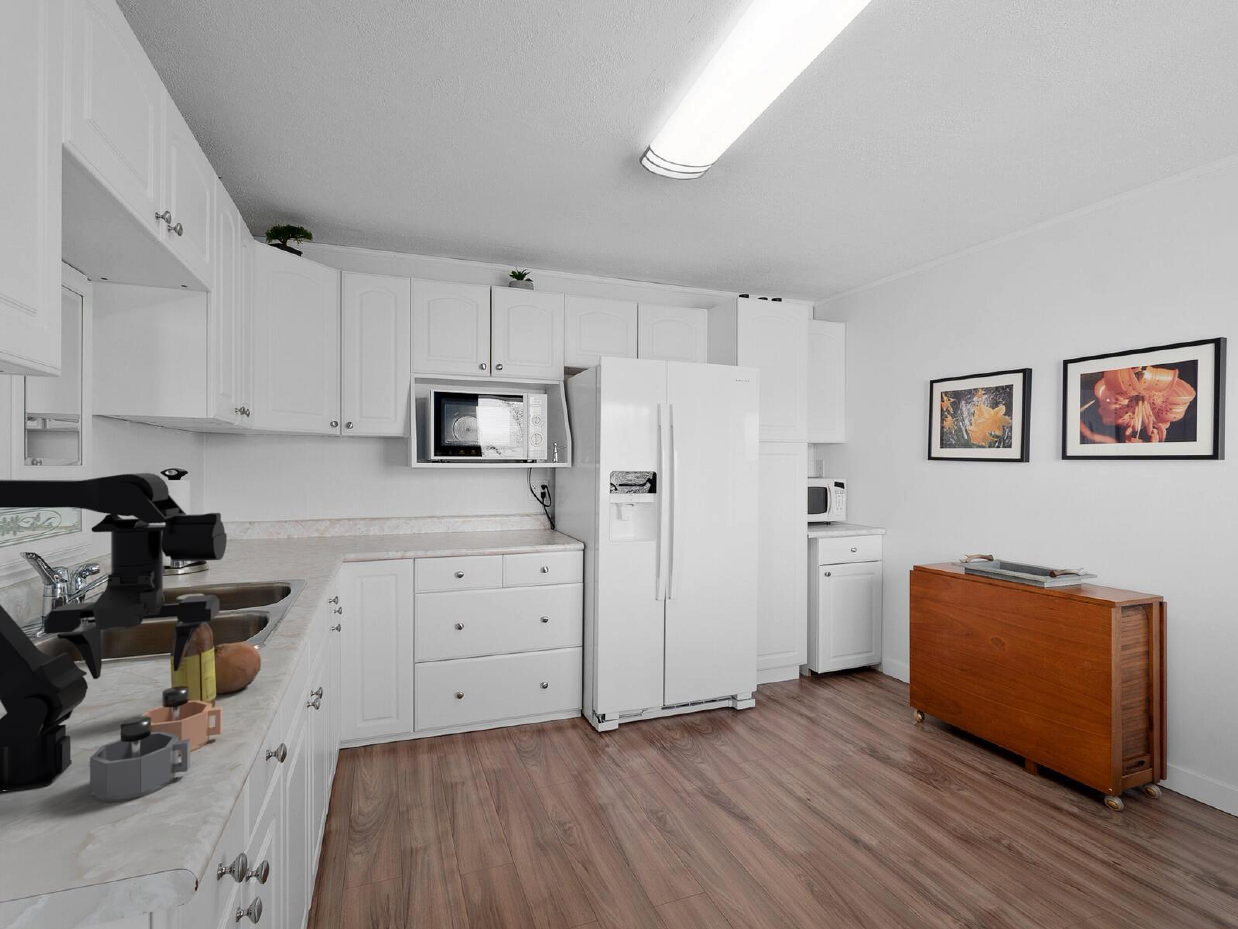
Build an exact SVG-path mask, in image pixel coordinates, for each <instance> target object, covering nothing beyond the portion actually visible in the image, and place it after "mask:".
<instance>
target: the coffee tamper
mask: <svg viewBox="0 0 1238 929" xmlns="http://www.w3.org/2000/svg"><path fill="white" fill-rule="evenodd" d="M150 735H151V718H150V717H141V716H138V717H132V718H128V719H126V720H124V721H122V722H121V723H120V739H121V741H122V742H132V758H137V757H140V740H141V739H144V738H146V737H148V736H150Z"/></svg>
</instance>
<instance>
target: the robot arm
mask: <svg viewBox="0 0 1238 929" xmlns="http://www.w3.org/2000/svg"><path fill="white" fill-rule="evenodd" d="M169 491H170V490H169V486H168V485H167V483H166V481H165V480H164V479H163V478H161V477H160V476H159V475H157V474H155V473H150V472H141V473H123V474H117V475H108V476H102V477H101V476H100V477H95V478H90V479H89V478H88V479H84V480H72V479H68V480H67V479H66V480H65V479H61V480H60V479H42V480H41V479H0V508H2V509H3V508H5V509H6V508H10V509H11V508H12V509H13V508H15V509H17V508H18V509H19V508H24V509H25V508H26V509H27V508H28V509H29V508H33V509H34V508H39V509H40V508H42V509H43V508H45V509H46V508H53V509H54V508H75V509H82V510H87V511H92V512H96V513H100V514H106V515H105V516H104V518H102V520H101V521H99V522H98V523H97V524H96V525H94V526H92V527H91V532H92V533H110V539H111V540H110V547H111V548H110V564H111V565H110V568H111V570H110V571H111V572H110V573H109V574H108V575H107V576H108V578H107V579H106V581H107V582H106V583H107V585H106V586H105V590H104V592H102V593H101V594H100V596H99V597H98V598H97V600H96V601H94V602H93V601H91V602H76V603H75V602H73V603H65V604H63V605H61V606H59V607H57V608H55V609H52V610H51V611H49V612H48V613H47V614H46V615H45V617H44V619H43V633H44V634H47V635H48V634H56V637H57V638H58V639H65V640H68V641H69V642H70V643H72V644H73V645H74V646H75V647H76V649H77V650H78V652H79V653H80V654H81V657H82V659H83V660H84V662H85V665H86V667H87V669H88V671H89V673H90V674H91V676H92V679H93V680H98V679H99V678H100V677H101V674H102V673H101V672H102V666H103V665H102V663H103V660H102V658H103V656H102V631H106V630H109V629H113V628H114V629H115V628H125V629H131V628H136V627H138V626H140V625H141V624H142V622H143V621H144V620H147V619H148V620H150V619H159V618H160V619H161V618H173V617H174V618H175V617H176V618H177V620H178V619H179V620H180V621H181V622H180V623H179V624H178V625H177V624H176V625H175V626H174V631H175V632H176V642H175V651H174V660H173V664H174V671H178V670H179V668H180V666H181V663H182V661H183V658H184V656H185V653H186V651H187V648H188V646H189V643H190V641H191V639H192V637H193V635H194V633H195V631H196V629H197V628H199V627H201V626H202V625H203V624H204V623H205V622H210V621H212V620H213V619H214V618H215V617H216V616H217V615H219V613H220V599H219V598H218V596H216V595H215V594H206V595H205V594H204V595H202V596H188V597H186V598H185V599H184V600H182V601H181V602H180V603H176V602H175V603H164V602H165V598H166V597H165V596H166V595H165V593H164V592H163V591H164V590H163V589H164V588H163V586H164V583H163V581H164V578H163V577H164V574H165V573H166V572H165V565H164V563H163V562H164V559H163V558H164V557H163V556H165V557H167V558H168V557H170V560H172V561H173V562H176V563H177V562H198V561H199V562H202V561H205V562H207V561H221V560H222V559H223V557H224V556H225V552H226V548H227V539H228V538H227V536H228V534H227V533H226V532H225V525H224V523H223V522H222V514H221V513H220V512H209V513H208V512H207V513H204V514H203V513H202V514H197V513H196V514H187V513H186V512H185V510H183V508H181V507H180V505H179V504H178V503H177V502H176V501H175V500H174V498H172V496H171V495H170V492H169ZM120 516H122V517H130V516H131V517H132V516H133V517H134V518H122V517H120ZM163 523H164V524H163ZM87 674H88V673H87V672H86V671H85V670H83V669H81V668H80V667H79V666H77V664H76V662H75V660H74V659H73V657H72V656H71V654H69V653H68V652H64V653H61V654H59V655H58V656H56V657H54V656H52V655H49V654H46V652H42V651H41V650H40V649H39V648H38V647H37V646H36V645H35V643H34V642H33V641H32V640H31V639H30V637H28V635H27V634H26V633H25V631H24V630H23V629H22V628H21V627H20V626H19V625H18V624H17V622H16V621H15V620H14V619H13V618H12V616H11V615H10V614H9V613H8V612H7V611H6V610H5V608H4V607H3V606H2V605H1V604H0V703H1V706H2V708H4V711H5V712H6V713H4V715H3V716H1V717H0V791H3V790H10V791H15V790H22V789H29V788H37V787H43V786H44V787H45V786H49V785H51V784H52V783H54V782H55V781H56V780H57V779H58V778H59V777H60V776H61V775H62V774H63V773H64V772H65V771H66V770H67V769H68V768H69V767H70V766H71V765H72V764H73V763H72V761H73V760H72V759H71V754H72V753H71V736H70V735H67V725H66V724H62V723H63V722H65V721H67V720H69V719H70V718H71V716H72V714H73V711H74V709H75V708H77V707H78V706H79V705H81V704H82V702H83V701H84V699H85V698H86V695H87V692H88V689H89V687H88V686H89V685H88V682H87V681H86V679H85V676H87ZM3 792H4V791H3Z"/></svg>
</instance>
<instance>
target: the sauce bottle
mask: <svg viewBox="0 0 1238 929" xmlns="http://www.w3.org/2000/svg"><path fill="white" fill-rule="evenodd" d="M202 595H205V594H204V593H189V594H183V595H179V596H178V597H176V598H175V603H180V602H181V601H182V600H184V599H185V598H186V597H188V596H202ZM176 621H177V624H176V625H178V624H179V623H180V622H181V621H180V620H179V619H177V620H176ZM213 640H214V634H213V630H212V628H211V626H210V625H209V624H208V621H206V622H205V623H204V624H203V625H202V626H201V627H199V628H197V629H196V631H195V633H194V635H193V637H192V639H191V641H190V643H189V646H188V648H187V651H186V653H185V656H184V658H183V661H182V663H181V666H180V668H179V670H178V671H174V664H173V660H174V651H175V642H176V632H175V630H174V631H173V633H172V634H171V637H170V649H169V650H170V651H169V652H170V653H169V656H170V659H169V660H170V679H171V680H170V681H171V688H172V687H177V686H187V687H188V688H189V701H194V700H199V701H203V702H207V703H211V704H212V708H214V707H215V706H216V698H217V692H216V682H215V660H214V647H215V646H214V641H213Z"/></svg>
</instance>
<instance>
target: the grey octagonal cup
mask: <svg viewBox="0 0 1238 929" xmlns="http://www.w3.org/2000/svg"><path fill="white" fill-rule="evenodd" d="M178 750H181V755H180V758H181V759H180V760H181V762H179V756H178ZM189 769H191V752H190V739H186V740H180V741H178V736H177V735H173V734H170V733H167V732H163V731H161V732H153V733H151V735H150V736H148V737H146V738H144V739H141V740H140V757H137V758H132V742H122V741H121V738H120V739H117V740H115V741H112V742H111V741H110V742H108V743H106V744H102V745H101V746H100V747H99V748H98V749H97V750H96V751H95V752H94V753H93V754H92V755H91V757H90V758H89V792H90V793H91V794H93V799H95V800H97V801H99V802H104V803H105V802H106V803H114V802H116V803H117V802H123V801H130V800H134V799H138V798H142V797H145V796H147V795H150V794H152V793H154V792H157V791H159V790H161V789H163V788H165V787H166V786H168V785H170V784H171V783H172V782H173V781H174V779H175V778H176V775H177V774H176V773H184V772H188V771H189Z"/></svg>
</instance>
